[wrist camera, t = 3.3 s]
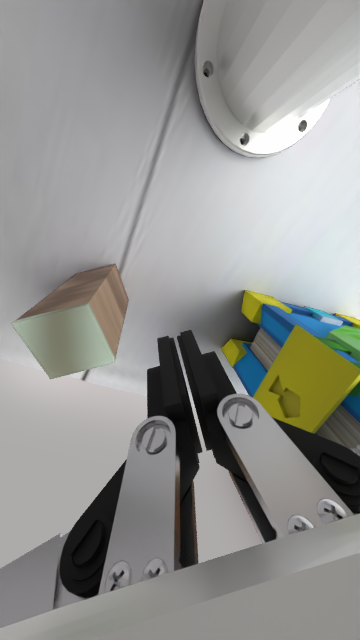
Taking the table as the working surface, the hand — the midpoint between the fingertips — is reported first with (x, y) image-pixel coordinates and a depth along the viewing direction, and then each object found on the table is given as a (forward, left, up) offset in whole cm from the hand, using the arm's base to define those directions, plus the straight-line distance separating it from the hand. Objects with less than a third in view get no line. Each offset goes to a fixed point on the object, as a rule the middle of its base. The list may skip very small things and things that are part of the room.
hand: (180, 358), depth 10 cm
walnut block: (+7, 0, -16) cm, 17 cm away
